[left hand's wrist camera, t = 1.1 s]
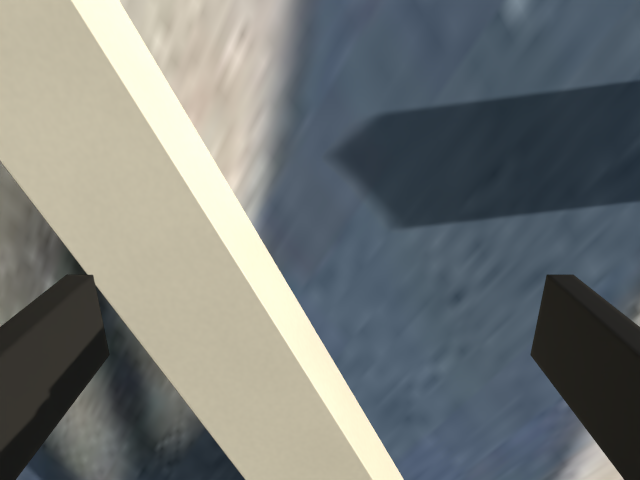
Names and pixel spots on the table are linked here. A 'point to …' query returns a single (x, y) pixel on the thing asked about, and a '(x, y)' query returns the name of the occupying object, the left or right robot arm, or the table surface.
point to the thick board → (171, 242)
